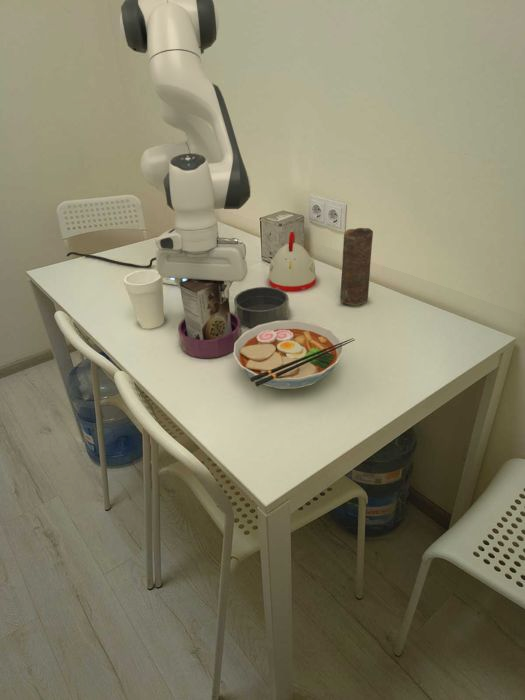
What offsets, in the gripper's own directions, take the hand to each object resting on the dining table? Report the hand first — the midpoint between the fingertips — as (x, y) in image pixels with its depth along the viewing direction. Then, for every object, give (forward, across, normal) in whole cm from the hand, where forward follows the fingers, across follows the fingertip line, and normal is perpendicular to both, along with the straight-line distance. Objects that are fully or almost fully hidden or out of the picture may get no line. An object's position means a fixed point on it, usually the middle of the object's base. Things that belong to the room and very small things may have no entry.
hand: (205, 295), depth 109 cm
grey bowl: (+13, -9, -15) cm, 22 cm away
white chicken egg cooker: (+13, -13, -37) cm, 41 cm away
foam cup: (+13, +19, -7) cm, 24 cm away
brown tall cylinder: (+13, -32, -26) cm, 43 cm away
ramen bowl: (+13, -21, +10) cm, 27 cm away
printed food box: (+12, 0, 0) cm, 12 cm away
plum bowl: (+13, 0, 0) cm, 13 cm away
